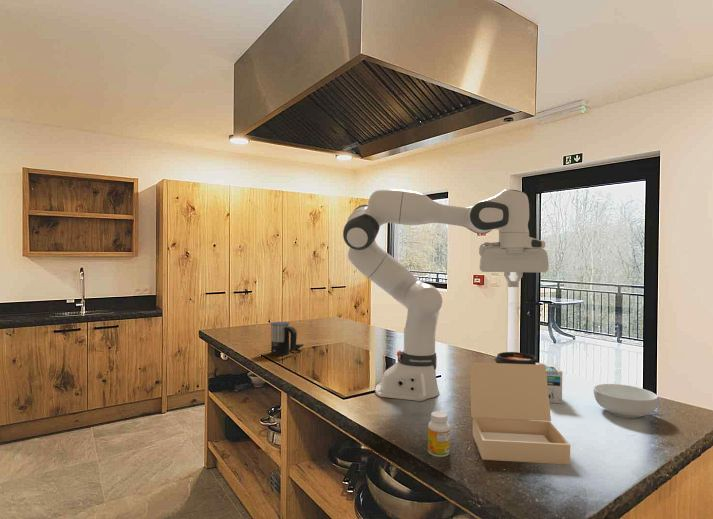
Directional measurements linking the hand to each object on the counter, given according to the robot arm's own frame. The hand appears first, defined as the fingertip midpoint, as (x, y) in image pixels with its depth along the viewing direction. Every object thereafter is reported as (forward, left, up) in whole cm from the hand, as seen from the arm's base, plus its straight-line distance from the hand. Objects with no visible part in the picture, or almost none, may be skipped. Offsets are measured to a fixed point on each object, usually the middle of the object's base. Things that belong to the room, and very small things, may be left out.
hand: (513, 286), depth 135 cm
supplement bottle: (-25, -31, -39) cm, 56 cm away
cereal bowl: (+35, +3, -39) cm, 53 cm away
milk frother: (-90, +68, -39) cm, 119 cm away
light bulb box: (+16, +15, -39) cm, 45 cm away
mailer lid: (-5, -17, -27) cm, 33 cm away
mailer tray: (-5, -27, -39) cm, 48 cm away
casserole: (+12, +40, -39) cm, 58 cm away
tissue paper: (-5, -27, -39) cm, 47 cm away
